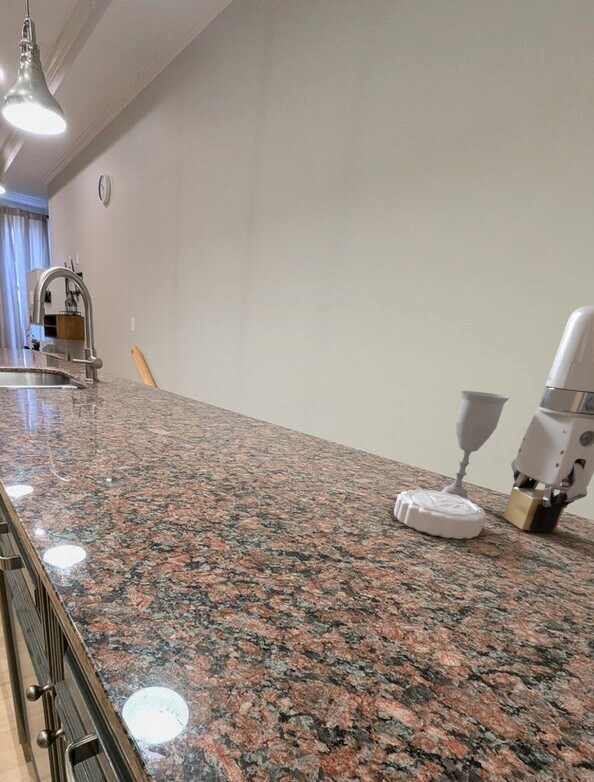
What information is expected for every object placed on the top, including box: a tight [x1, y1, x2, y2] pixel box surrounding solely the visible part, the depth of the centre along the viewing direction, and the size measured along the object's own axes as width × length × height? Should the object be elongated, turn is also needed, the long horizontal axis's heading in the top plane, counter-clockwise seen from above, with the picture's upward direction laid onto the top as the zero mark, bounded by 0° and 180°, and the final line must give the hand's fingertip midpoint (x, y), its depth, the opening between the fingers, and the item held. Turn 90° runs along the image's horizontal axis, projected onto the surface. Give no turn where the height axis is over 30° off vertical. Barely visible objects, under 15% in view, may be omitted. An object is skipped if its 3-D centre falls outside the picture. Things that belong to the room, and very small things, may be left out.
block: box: [502, 487, 565, 533], centre depth 68 cm, size 5×5×5 cm
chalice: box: [440, 390, 510, 499], centre depth 74 cm, size 7×7×18 cm
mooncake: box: [393, 488, 487, 540], centre depth 66 cm, size 12×12×4 cm
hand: (528, 521), depth 69 cm, fingers closed on block, 5 cm apart
